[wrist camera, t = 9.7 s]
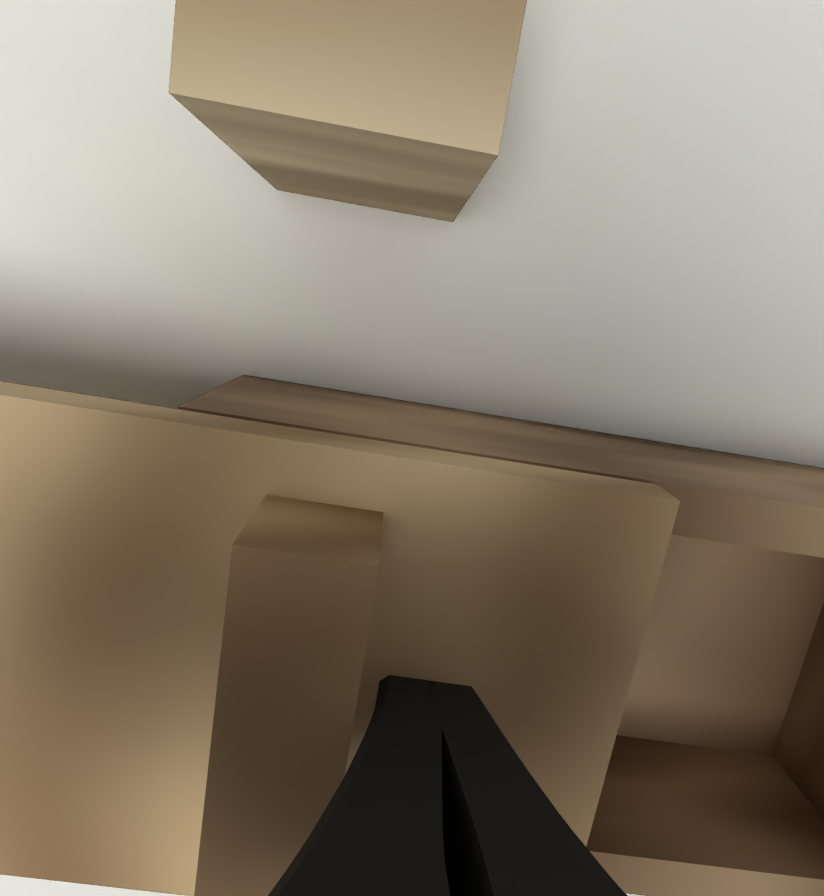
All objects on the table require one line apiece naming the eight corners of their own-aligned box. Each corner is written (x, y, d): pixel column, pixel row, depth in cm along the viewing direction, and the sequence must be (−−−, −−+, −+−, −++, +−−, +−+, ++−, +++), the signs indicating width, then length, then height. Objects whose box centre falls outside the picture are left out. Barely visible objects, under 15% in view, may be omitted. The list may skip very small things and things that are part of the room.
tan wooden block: (452, 222, 13) (497, 155, 7) (277, 189, 12) (168, 93, 7) (486, 27, 12) (571, -238, 6) (300, -11, 12) (200, -323, 6)
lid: (657, 484, 9) (751, 551, 7) (549, 893, 11) (594, 1068, 9) (-373, 323, 9) (-691, 332, 6) (-322, 791, 10) (-556, 949, 8)
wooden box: (880, 477, 14) (1066, 546, 10) (779, 770, 16) (905, 926, 12) (243, 374, 13) (177, 406, 9) (209, 695, 15) (142, 835, 11)
